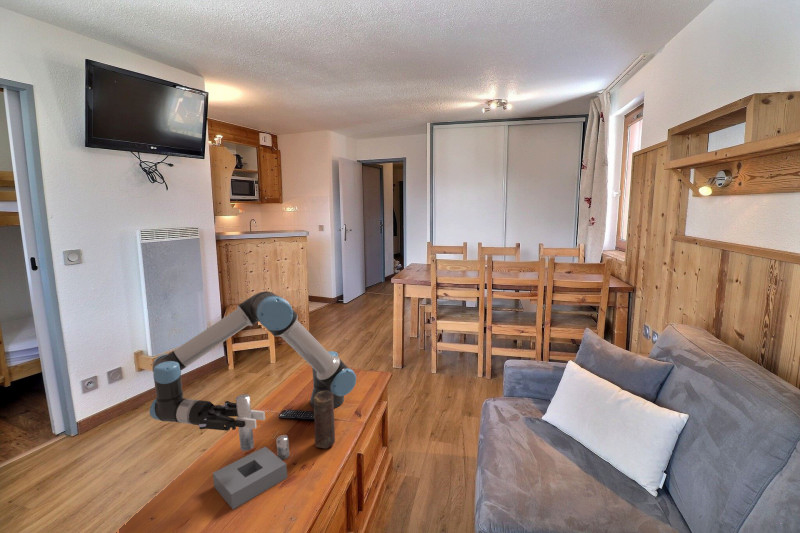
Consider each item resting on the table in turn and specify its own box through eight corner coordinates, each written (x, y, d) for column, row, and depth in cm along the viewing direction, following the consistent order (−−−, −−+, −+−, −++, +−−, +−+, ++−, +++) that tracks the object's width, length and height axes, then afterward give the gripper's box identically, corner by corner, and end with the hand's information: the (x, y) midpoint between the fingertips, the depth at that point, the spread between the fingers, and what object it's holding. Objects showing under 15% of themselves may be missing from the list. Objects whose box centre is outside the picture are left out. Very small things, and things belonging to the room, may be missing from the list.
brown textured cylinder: (339, 440, 145) (336, 391, 142) (329, 452, 138) (326, 401, 135) (321, 437, 147) (318, 388, 144) (311, 448, 140) (308, 398, 137)
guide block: (266, 459, 135) (265, 446, 134) (287, 477, 126) (286, 463, 125) (214, 487, 122) (212, 472, 121) (233, 509, 113) (231, 494, 112)
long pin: (250, 441, 125) (246, 392, 122) (256, 446, 122) (251, 396, 119) (238, 447, 122) (233, 397, 119) (243, 452, 119) (239, 401, 116)
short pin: (285, 451, 139) (284, 433, 138) (291, 455, 137) (290, 437, 136) (275, 456, 137) (274, 438, 135) (281, 461, 134) (279, 443, 133)
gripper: (215, 409, 133) (275, 416, 128) (177, 438, 117) (244, 447, 111) (213, 389, 132) (273, 395, 127) (174, 415, 116) (242, 423, 110)
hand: (259, 419), depth 119 cm, fingers closed on long pin, 4 cm apart
